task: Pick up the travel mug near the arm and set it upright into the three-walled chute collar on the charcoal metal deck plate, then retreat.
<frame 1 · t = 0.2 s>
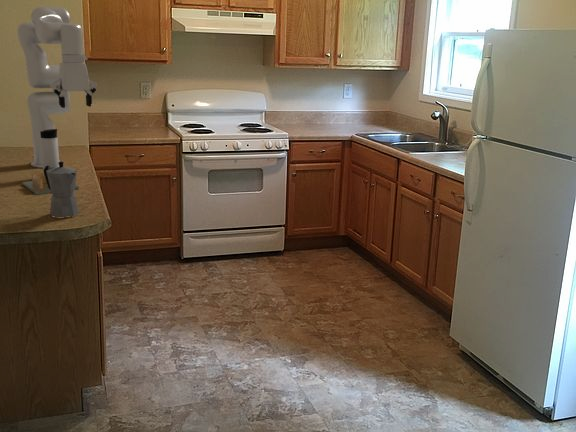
hand: (75, 106, 235), 31 cm above the countertop, fingers open, 9 cm apart
travel mug: (52, 178, 256), on the countertop
coffeepot: (62, 214, 211), on the countertop
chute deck: (50, 186, 243), on the countertop
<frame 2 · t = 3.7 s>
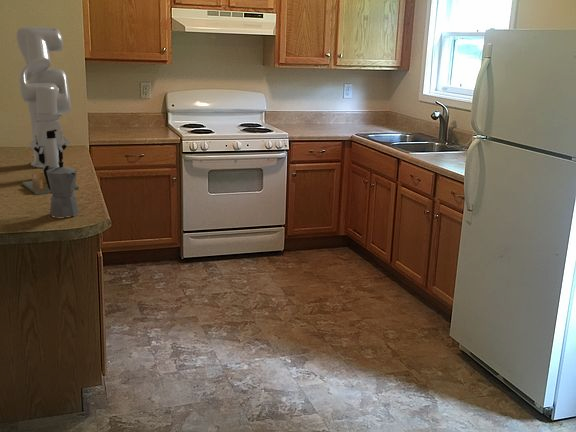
hand: (51, 161, 254), 7 cm above the countertop, fingers closed on travel mug, 6 cm apart
travel mug: (52, 178, 256), on the countertop, touching gripper
everything else where it was.
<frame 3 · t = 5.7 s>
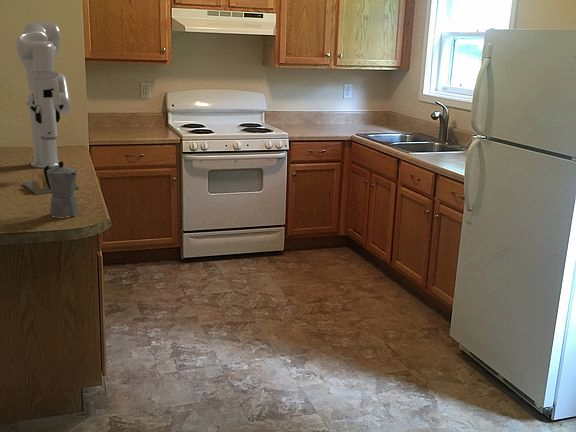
hand: (48, 121, 249), 23 cm above the countertop, fingers closed on travel mug, 6 cm apart
travel mug: (49, 139, 252), point 16 cm above the countertop, touching gripper
everything else where it was.
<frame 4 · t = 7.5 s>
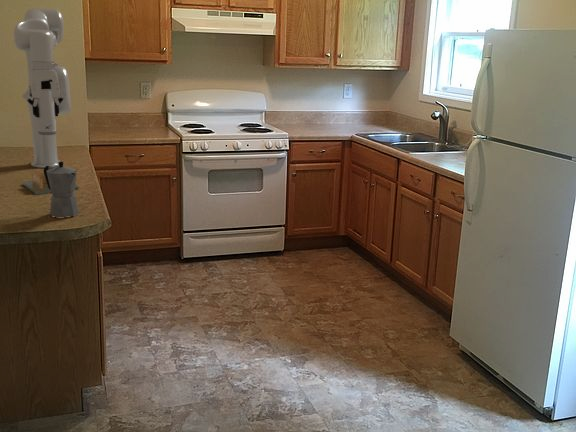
hand: (46, 115, 233), 27 cm above the countertop, fingers closed on travel mug, 6 cm apart
travel mug: (48, 134, 235), point 21 cm above the countertop, touching gripper
everything else where it was.
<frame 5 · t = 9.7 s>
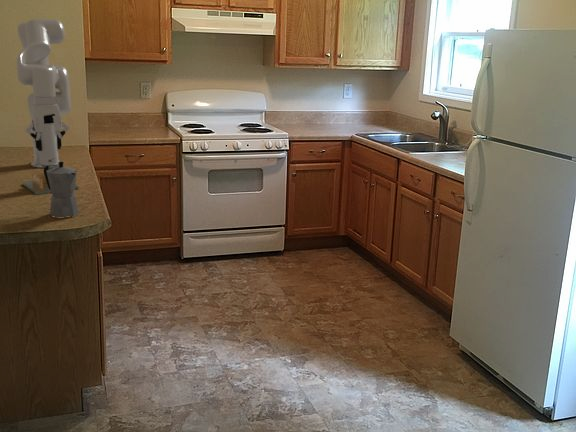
hand: (49, 149, 237), 15 cm above the countertop, fingers closed on travel mug, 6 cm apart
travel mug: (50, 166, 239), point 8 cm above the countertop, touching gripper
everything else where it was.
when the fingers open (9 cm above the countertop, at t = 11.5 s): travel mug drops 1 cm, resting on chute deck.
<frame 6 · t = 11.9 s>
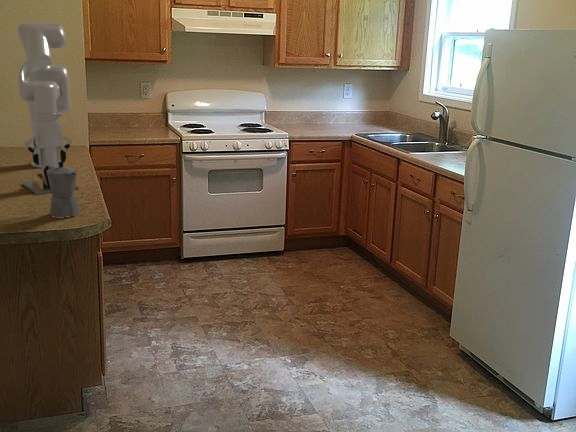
hand: (50, 162, 238), 10 cm above the countertop, fingers open, 9 cm apart
travel mug: (52, 185, 241), point 1 cm above the countertop, touching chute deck
everything else where it was.
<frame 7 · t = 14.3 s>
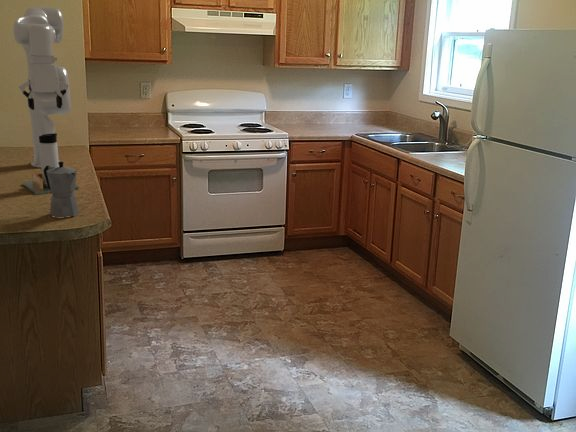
hand: (45, 108, 232), 30 cm above the countertop, fingers open, 9 cm apart
nothing on the countertop moved.
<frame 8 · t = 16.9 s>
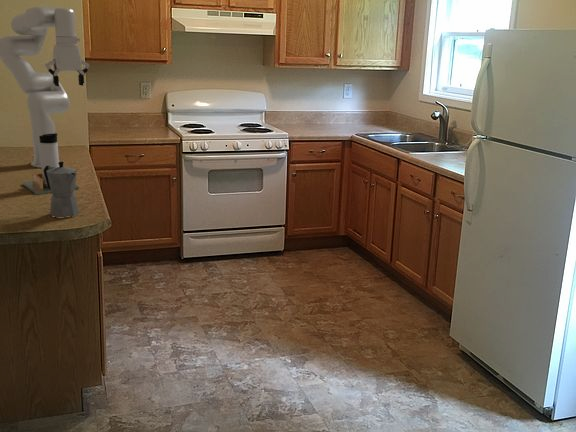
hand: (69, 85, 253), 36 cm above the countertop, fingers open, 9 cm apart
nothing on the countertop moved.
at the end: travel mug 0.5 cm from the target spot, point 0.8 cm above the countertop; travel mug tilted 0°; the gripper is holding nothing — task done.
